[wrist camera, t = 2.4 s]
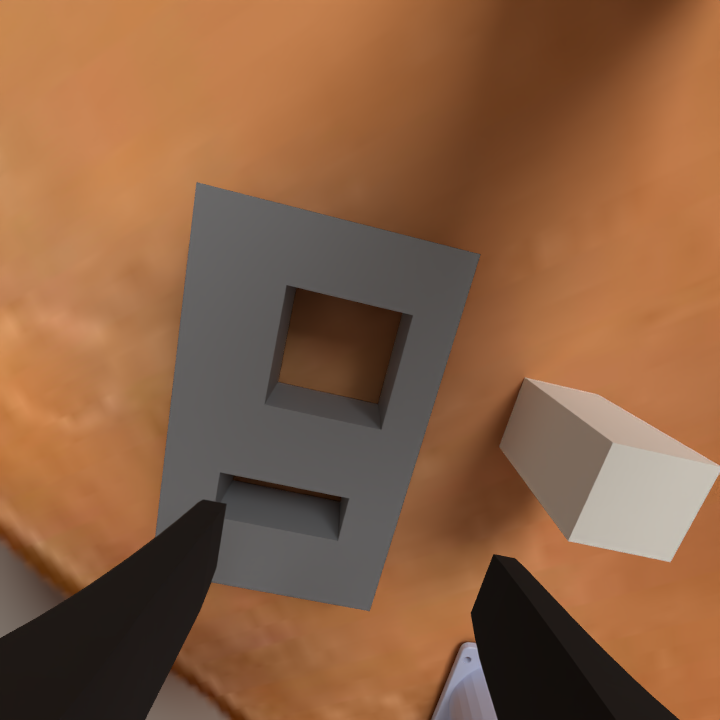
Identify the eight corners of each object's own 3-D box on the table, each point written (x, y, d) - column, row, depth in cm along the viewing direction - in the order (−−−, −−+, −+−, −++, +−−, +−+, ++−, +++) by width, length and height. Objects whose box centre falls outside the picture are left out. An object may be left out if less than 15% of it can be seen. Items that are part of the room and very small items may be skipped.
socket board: (368, 565, 22) (369, 611, 20) (178, 529, 22) (151, 571, 19) (460, 254, 18) (480, 254, 15) (223, 194, 17) (196, 182, 14)
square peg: (569, 462, 21) (670, 561, 14) (498, 446, 21) (568, 540, 14) (597, 394, 20) (722, 467, 13) (524, 377, 20) (612, 442, 13)
